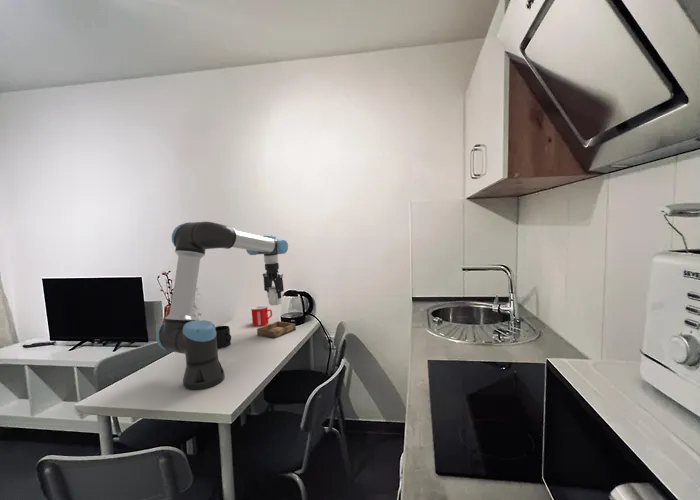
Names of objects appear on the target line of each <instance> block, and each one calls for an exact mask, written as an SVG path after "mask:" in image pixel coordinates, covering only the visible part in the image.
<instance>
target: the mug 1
mask: <svg viewBox="0 0 700 500" xmlns="http://www.w3.org/2000/svg"><path fill="white" fill-rule="evenodd" d="M215 329H216V336H217V349H222V348H227V347H229V346H230V345H231V344H232V343H231V341H232V335H231V330H230V326H229V325H218V326H215Z"/></svg>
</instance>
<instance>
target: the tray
mask: <svg viewBox="0 0 700 500" xmlns="http://www.w3.org/2000/svg"><path fill="white" fill-rule="evenodd" d="M296 329H297V326H296V323H292V322H284V321H275V322H272V323H268V324H266V325H265V326H260V327H258V328H256V334H257V336H260V335H261V337H265V336H266V337H265V338H272V339H277V338H279V337H282V336H285V335H287V334H289V333H292V332H294V331H296Z"/></svg>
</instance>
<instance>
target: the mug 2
mask: <svg viewBox="0 0 700 500" xmlns="http://www.w3.org/2000/svg"><path fill="white" fill-rule="evenodd" d="M250 311H251V318H252V319H251V320H252V326H253V327H263V326H266V325H269V319H271V318H272V316H273V310H272V309H268V305H256V306H254V307H252V308H251V309H250ZM269 312H270V313H269ZM269 314H270V315H269Z"/></svg>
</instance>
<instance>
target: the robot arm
mask: <svg viewBox="0 0 700 500" xmlns="http://www.w3.org/2000/svg"><path fill="white" fill-rule="evenodd" d="M171 242H172V243H173V246H174V247H175V250H174V252H175V254H176V255H177V256H178V257H177V264H176V270H175V276H174V277H175V278H174V283H173V284H174V285H173V291H172V296H171V297H172V298H171V304H170V309H169V314H168V315H167V316H165V317H164V322H163V323H162V324H161V325H160V326H159V327H158V329H157V331H156V336H155V340H156V342H157V344H158V346H159V347H160V348H161V349H162V350H164V351H167V352H170V353H178V354H183V355H185V364H186V367H185V370H184V374H183V378H182V385H183V388H185V390H190V391H191V390H192V391H198V390H199V391H200V390H205V389H208V388H209V389H210V388H211V387H214V386H217V385H219V384H220V383H222V382H223V381H224V380H225V370H224V369H223V367H222V363H221V362H220V360H219V351H218V350H219V349H218V348H217V336H216V329H215V327H216V326H215V323H213V322H212V321H209V320H207V319H206V320H201V319H199V320H198V319H196V318H195V317H194V315H193V313H194V305H195V299H196V291H197V285H198V284H197V283H198V277H199V270H200V263H201V259H202V258H203V257H205V256H206V250H212V249H213V250H214V249H227V250H229V249H231V248H235V249H242V250H246V253H247V254H248V255H249V256H256V255H263V262H264V269H265V271H266V272H265V273H262V277H263V286H264V290H263V291H265V292H267V299H268V304H269V305H270V297H269V288H268V287H271V286H273V284H274V286H275V288H276V291H277V292H276V301H277V305H276V306H278V305H281V304H282V292H284V291H285V290H284V281H283V276H284V274H283V273H280V272H279V269H280V265H279V256H278V255H285V254H286V253H287V252H288V250H289V243H288V242H287V240H286V239H283V238H282V239H281V238H279V239H278V238H277V236H276V234H268V235H267V234H266V235H265V234H264V235H258V234H253V233H249V232H246V231H240V230H236V229H235V228H234V227H231V226H228V225H225V224H220V223H217V222H212V221H195V222H194V221H193V222H183V223H181V224H179V225H177V226H176V227H175V228H174V229H173V231H172V234H171Z"/></svg>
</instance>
